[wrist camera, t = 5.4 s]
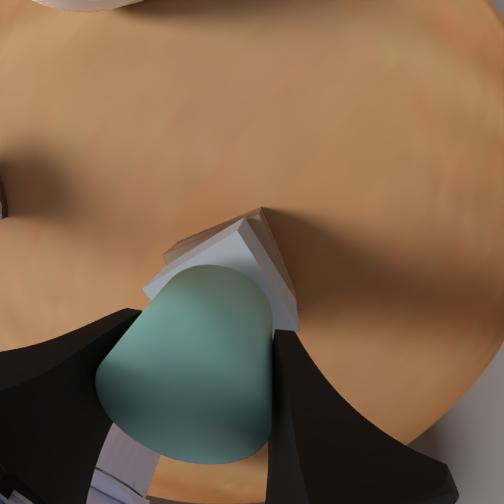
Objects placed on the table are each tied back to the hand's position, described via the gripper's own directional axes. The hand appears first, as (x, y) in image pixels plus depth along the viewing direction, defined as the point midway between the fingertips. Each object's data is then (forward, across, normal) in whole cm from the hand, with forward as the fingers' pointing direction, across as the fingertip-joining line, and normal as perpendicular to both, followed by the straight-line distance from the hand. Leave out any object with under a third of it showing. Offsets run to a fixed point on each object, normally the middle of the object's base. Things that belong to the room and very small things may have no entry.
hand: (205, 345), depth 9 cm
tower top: (+6, 0, 0) cm, 6 cm away
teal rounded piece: (+2, 0, 0) cm, 2 cm away
